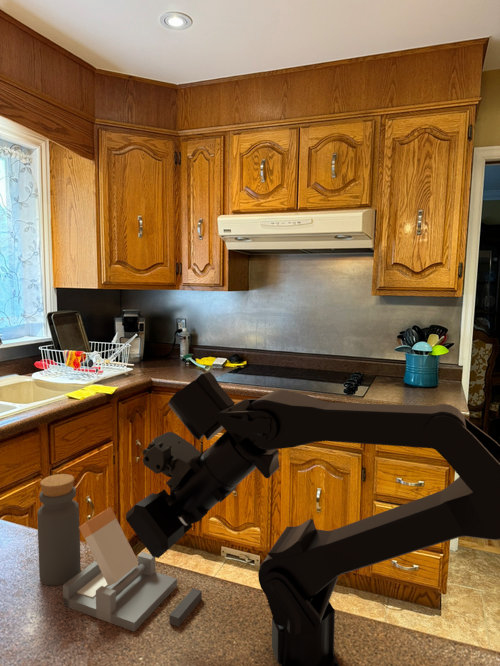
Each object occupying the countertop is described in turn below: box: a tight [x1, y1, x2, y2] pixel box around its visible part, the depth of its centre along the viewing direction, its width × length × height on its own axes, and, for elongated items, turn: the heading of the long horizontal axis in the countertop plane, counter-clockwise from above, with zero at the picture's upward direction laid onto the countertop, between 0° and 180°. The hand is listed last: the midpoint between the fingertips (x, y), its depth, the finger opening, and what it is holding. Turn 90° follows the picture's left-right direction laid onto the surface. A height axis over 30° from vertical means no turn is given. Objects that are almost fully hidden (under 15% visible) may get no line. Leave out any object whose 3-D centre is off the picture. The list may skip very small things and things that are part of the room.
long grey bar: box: [168, 587, 203, 627], centre depth 62 cm, size 6×1×1 cm, turn 156°
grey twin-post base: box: [62, 551, 178, 632], centre depth 65 cm, size 12×10×4 cm
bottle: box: [36, 473, 81, 586], centre depth 70 cm, size 6×6×15 cm
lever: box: [79, 506, 146, 597], centre depth 66 cm, size 2×7×11 cm
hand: (151, 533), depth 63 cm, fingers closed
